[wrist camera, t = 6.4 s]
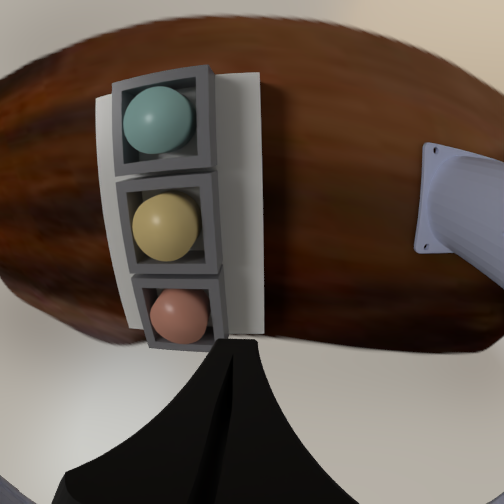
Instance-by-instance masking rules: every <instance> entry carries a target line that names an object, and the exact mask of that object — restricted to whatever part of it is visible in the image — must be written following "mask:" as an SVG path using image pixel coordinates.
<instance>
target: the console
mask: <svg viewBox="0 0 504 504" xmlns="http://www.w3.org/2000/svg"><path fill="white" fill-rule="evenodd" d="M157 86H163V87H168V88H171V89H173V90H175V91H177V92H178V93H180V94H181V95H183V96H184V97H186V98H187V99H188V100H189V101H191V103H192V104H193V106H194V107H195V110H196V117H197V127H196V131H195V133H194V135H193V137H192V138H191V140H190V141H189V142H188V143H187V144H186V145H185V146H184V147H182V148H181V149H179V150H177V151H174V152H170V153H157V154H147V153H143V152H140V151H138V150H136V149H135V148H134V147H132V145H131V144H130V143H129V142H128V140H127V138H126V136H125V133H124V127H123V121H124V115H125V112H126V110H127V107H128V106H129V104H130V102H131V101H132V100H133V99H134V98H135V97H136V96H137V95H138V94H139V93H141V92H142V91H144V90H146V89H148V88H152V87H157ZM96 143H97V160H98V172H99V183H100V192H101V200H102V208H103V214H104V221H105V227H106V233H107V239H108V244H109V249H110V254H111V259H112V264H113V268H114V273H115V277H116V281H117V285H118V289H119V293H120V297H121V301H122V304H123V308H124V311H125V315H126V318H127V322H128V325H129V328H135V329H144V332H145V336H146V339H147V342H148V346H149V348H157V349H167V350H180V351H196V352H209V351H210V350H211V348H212V346H213V345H214V343H215V341H216V340H217V339H219V338H223V339H228V337H229V334H264V245H263V184H262V141H261V105H260V74H259V73H234V74H220V75H215V74H214V73H213V71H212V70H211V68H210V67H209V65H200V66H192V67H185V68H179V69H173V70H167V71H162V72H157V73H152V74H147V75H143V76H138V77H134V78H130V79H126V80H123V81H119V82H115V83H112V94H109V95H106V96H102V97H99V98H96ZM170 190H175V191H180V192H183V193H186V194H187V195H189V196H190V197H192V198H193V199H194V200H195V201H196V203H197V204H198V206H199V208H200V210H201V215H202V230H201V233H200V235H199V236H198V238H197V239H196V241H195V242H194V244H193V245H192V247H191V248H190V250H189V251H188V252H187V253H186V254H185V255H184V256H183V257H181V258H179V259H177V260H174V261H159V260H156V259H153V258H151V257H150V256H148V255H147V254H145V253H144V252H143V251H142V250H141V248H140V247H139V246H138V244H137V242H136V240H135V238H134V234H133V228H132V225H133V218H134V215H135V212H136V211H137V209H138V207H139V206H140V205H141V204H142V203H143V202H145V201H146V200H148V199H150V198H152V197H154V196H156V195H158V194H160V193H162V192H165V191H170ZM164 288H167V289H202V290H203V291H204V292H205V293H206V294H207V296H208V298H209V300H210V307H211V312H210V316H209V319H208V323H207V326H206V330H205V333H204V335H203V336H202V337H201V338H200V339H199V340H198V341H196V342H194V343H190V344H178V343H174V342H171V341H169V340H167V339H165V338H164V337H162V336H161V335H160V334H159V333H158V332H157V331H156V330H155V328H154V327H153V325H152V322H151V318H150V312H151V308H152V306H153V305H154V303H155V302H156V300H157V298H158V297H159V295H160V294H161V292H162V291H163V289H164Z"/></svg>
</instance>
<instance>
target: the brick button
mask: <svg viewBox="0 0 504 504" xmlns="http://www.w3.org/2000/svg"><path fill="white" fill-rule="evenodd" d="M210 312H211V307H210V300H209V298H208V296H207V294H206V293H205V292H204V291H203V290H202V289H167V288H164V289H163V291H162V292H161V294H160V295H159V297H158V298H157V300H156V302H155V303H154V305H153V306H152V308H151V312H150V318H151V322H152V325H153V327H154V328H155V330H156V331H157V332H158V333H159V334H160V335H161V336H162V337H164V338H165V339H167V340H169V341H171V342H174V343H178V344H190V343H194V342H196V341H198V340H199V339H200V338H201V337H202V336H203V335H204V333H205V330H206V326H207V323H208V319H209V316H210Z"/></svg>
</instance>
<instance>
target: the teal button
mask: <svg viewBox="0 0 504 504" xmlns="http://www.w3.org/2000/svg"><path fill="white" fill-rule="evenodd" d="M123 127H124V133H125V136H126V138H127V140H128V142H129V143H130V144H131V145H132V147H134V148H135V149H136V150H138V151H140V152H143V153H147V154H157V153H170V152H174V151H177V150H179V149H181V148H182V147H184V146H185V145H186V144H187V143H188V142H189V141H190V140H191V138H192V137H193V135H194V133H195V131H196V127H197V117H196V110H195V107H194V106H193V104H192V103H191V101H189V100H188V99H187V98H186V97H184V96H183V95H181V94H180V93H178V92H177V91H175V90H173V89H171V88H168V87H163V86H157V87H152V88H148V89H146V90H144V91H142V92H141V93H139V94H138V95H137V96H136V97H135V98H134V99H133V100H132V101H131V102H130V104H129V106H128V107H127V110H126V112H125V115H124V121H123Z"/></svg>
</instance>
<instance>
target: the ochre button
mask: <svg viewBox="0 0 504 504" xmlns="http://www.w3.org/2000/svg"><path fill="white" fill-rule="evenodd" d="M132 228H133V234H134V238H135V240H136V242H137V244H138V246H139V247H140V248H141V250H142V251H143V252H144V253H145V254H147V255H148V256H150V257H151V258H153V259H156V260H159V261H174V260H177V259H179V258H181V257H183V256H184V255H185V254H186V253H187V252H188V251H189V250H190V248H191V247H192V245H193V244H194V242H195V241H196V239H197V238H198V236H199V235H200V233H201V230H202V215H201V210H200V208H199V206H198V204H197V203H196V201H195V200H194V199H193V198H192V197H190V196H189V195H187V194H186V193H183V192H180V191H175V190H170V191H165V192H162V193H160V194H158V195H156V196H154V197H152V198H150V199H148V200H146V201H145V202H143V203H142V204H141V205H140V206H139V207H138V209H137V211H136V212H135V215H134V218H133V225H132Z"/></svg>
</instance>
